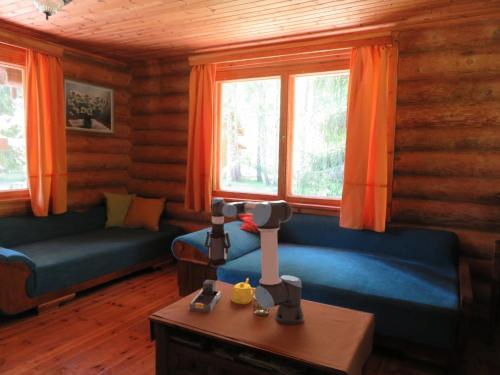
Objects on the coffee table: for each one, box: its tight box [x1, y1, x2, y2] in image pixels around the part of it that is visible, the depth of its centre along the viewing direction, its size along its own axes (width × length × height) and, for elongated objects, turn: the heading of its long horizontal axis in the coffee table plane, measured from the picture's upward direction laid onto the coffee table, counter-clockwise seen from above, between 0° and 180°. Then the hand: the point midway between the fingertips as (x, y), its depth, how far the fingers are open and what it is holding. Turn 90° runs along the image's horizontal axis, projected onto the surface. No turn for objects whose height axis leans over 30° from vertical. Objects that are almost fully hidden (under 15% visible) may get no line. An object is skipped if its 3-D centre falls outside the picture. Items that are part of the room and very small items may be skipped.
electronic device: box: [209, 233, 227, 268], centre depth 229 cm, size 9×6×20 cm, turn 130°
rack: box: [189, 279, 222, 314], centre depth 215 cm, size 12×23×11 cm, turn 169°
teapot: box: [230, 277, 257, 305], centre depth 221 cm, size 22×16×11 cm
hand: (217, 258), depth 229 cm, fingers closed on electronic device, 9 cm apart
